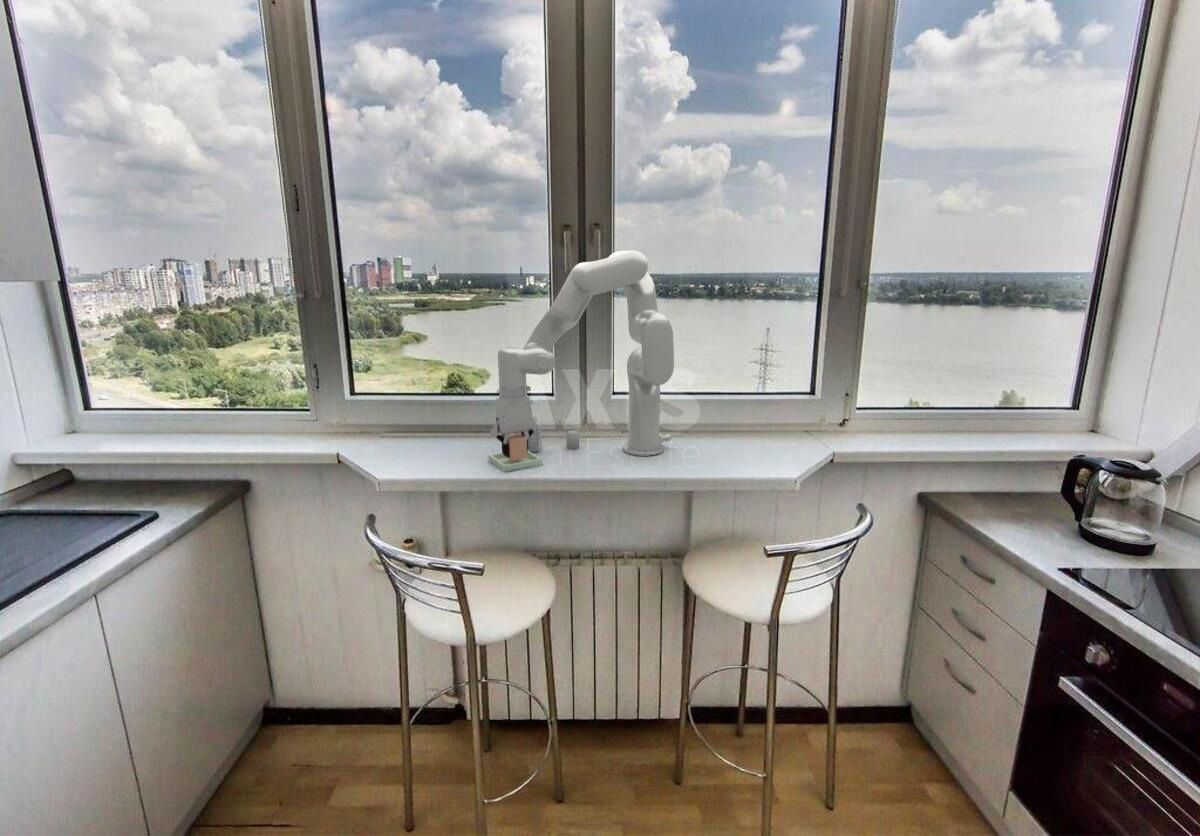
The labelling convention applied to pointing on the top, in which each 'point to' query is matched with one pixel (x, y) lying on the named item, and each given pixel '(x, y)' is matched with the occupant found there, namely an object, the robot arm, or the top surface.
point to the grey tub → (572, 439)
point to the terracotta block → (517, 447)
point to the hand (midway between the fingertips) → (515, 453)
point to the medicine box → (535, 439)
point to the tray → (515, 462)
